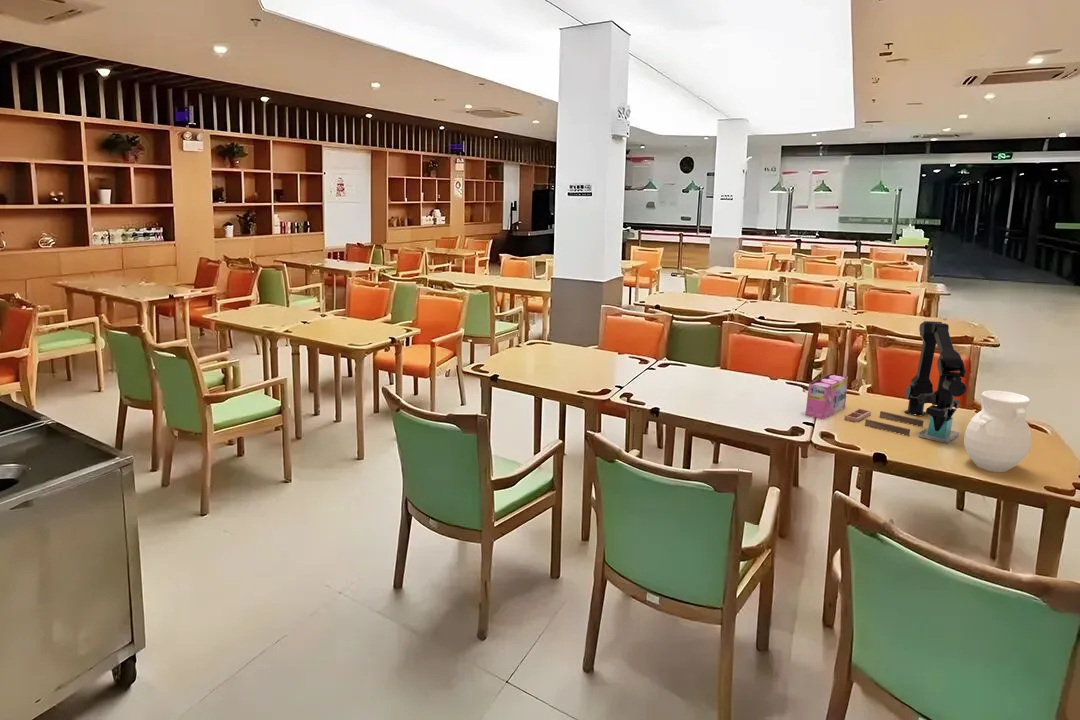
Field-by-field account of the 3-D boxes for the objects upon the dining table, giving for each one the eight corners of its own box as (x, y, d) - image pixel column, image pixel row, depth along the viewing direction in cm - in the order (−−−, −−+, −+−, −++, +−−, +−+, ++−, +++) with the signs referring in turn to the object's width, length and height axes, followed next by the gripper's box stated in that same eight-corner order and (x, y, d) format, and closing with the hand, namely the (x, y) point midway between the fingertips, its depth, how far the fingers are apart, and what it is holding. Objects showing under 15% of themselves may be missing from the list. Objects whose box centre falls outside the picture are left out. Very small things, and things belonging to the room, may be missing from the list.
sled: (929, 428, 270) (932, 410, 269) (958, 435, 263) (961, 417, 262) (918, 436, 262) (921, 418, 260) (947, 443, 255) (950, 424, 253)
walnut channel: (880, 416, 285) (881, 411, 284) (922, 426, 274) (923, 420, 273) (864, 425, 274) (865, 419, 273) (908, 436, 263) (909, 429, 262)
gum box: (828, 402, 303) (831, 372, 299) (846, 407, 297) (850, 376, 294) (804, 415, 286) (808, 383, 282) (824, 419, 280) (827, 387, 277)
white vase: (1039, 477, 226) (1053, 403, 220) (985, 478, 225) (998, 404, 219) (998, 455, 244) (1010, 387, 238) (947, 456, 243) (959, 387, 237)
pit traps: (858, 412, 290) (858, 408, 289) (870, 415, 286) (871, 411, 286) (844, 419, 280) (844, 415, 280) (856, 422, 277) (857, 418, 276)
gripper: (930, 380, 270) (924, 418, 274) (913, 389, 257) (907, 429, 261) (962, 386, 262) (956, 425, 266) (947, 395, 250) (940, 436, 253)
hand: (939, 428), depth 262 cm, fingers open, 6 cm apart
